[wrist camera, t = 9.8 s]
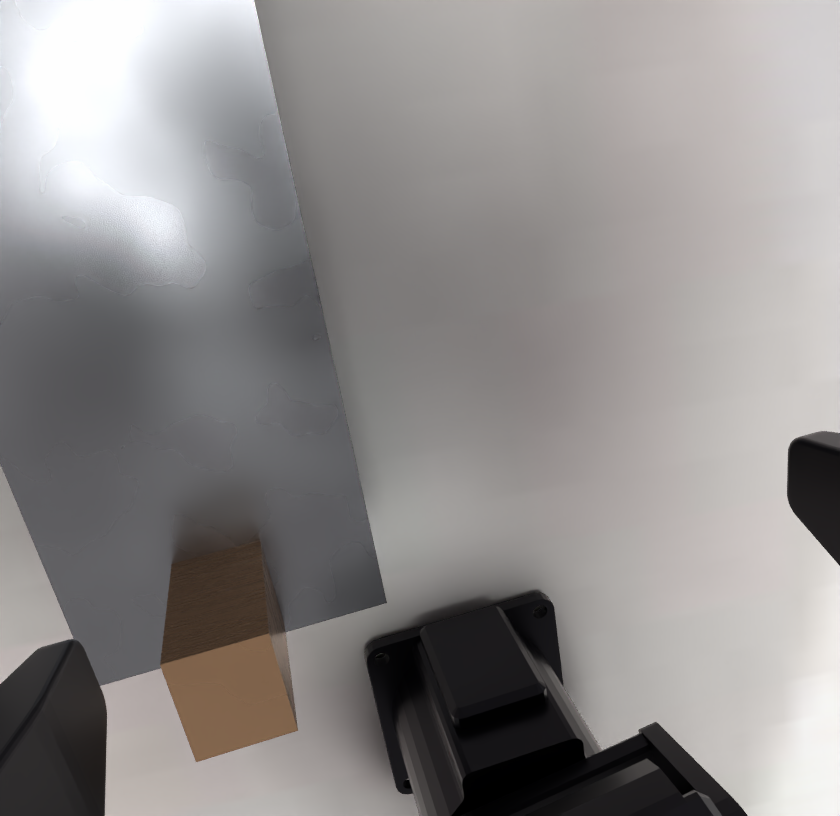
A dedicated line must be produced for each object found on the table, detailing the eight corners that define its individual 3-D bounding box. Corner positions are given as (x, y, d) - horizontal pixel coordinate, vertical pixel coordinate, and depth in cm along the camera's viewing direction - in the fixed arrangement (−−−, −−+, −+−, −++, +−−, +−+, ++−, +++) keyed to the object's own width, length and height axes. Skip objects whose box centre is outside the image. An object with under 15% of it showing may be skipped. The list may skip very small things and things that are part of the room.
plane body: (354, 509, 23) (420, 700, 16) (120, 572, 22) (66, 811, 14) (135, -455, 15) (43, -1073, 7) (-257, -434, 14) (-860, -1136, 6)
